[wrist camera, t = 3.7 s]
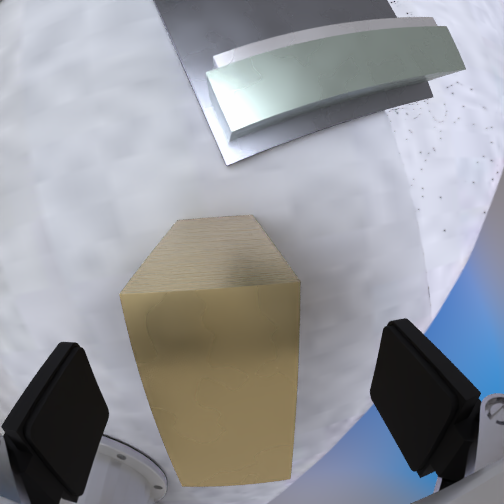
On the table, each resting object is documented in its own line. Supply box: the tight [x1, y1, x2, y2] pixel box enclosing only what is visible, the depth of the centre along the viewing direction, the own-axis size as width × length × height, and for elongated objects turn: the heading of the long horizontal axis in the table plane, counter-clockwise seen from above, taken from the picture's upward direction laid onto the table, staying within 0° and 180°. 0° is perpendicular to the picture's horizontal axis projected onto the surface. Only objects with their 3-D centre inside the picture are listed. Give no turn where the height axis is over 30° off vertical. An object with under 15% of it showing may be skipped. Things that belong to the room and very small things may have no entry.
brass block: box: [119, 215, 300, 487], centre depth 12 cm, size 8×4×10 cm, turn 3°
